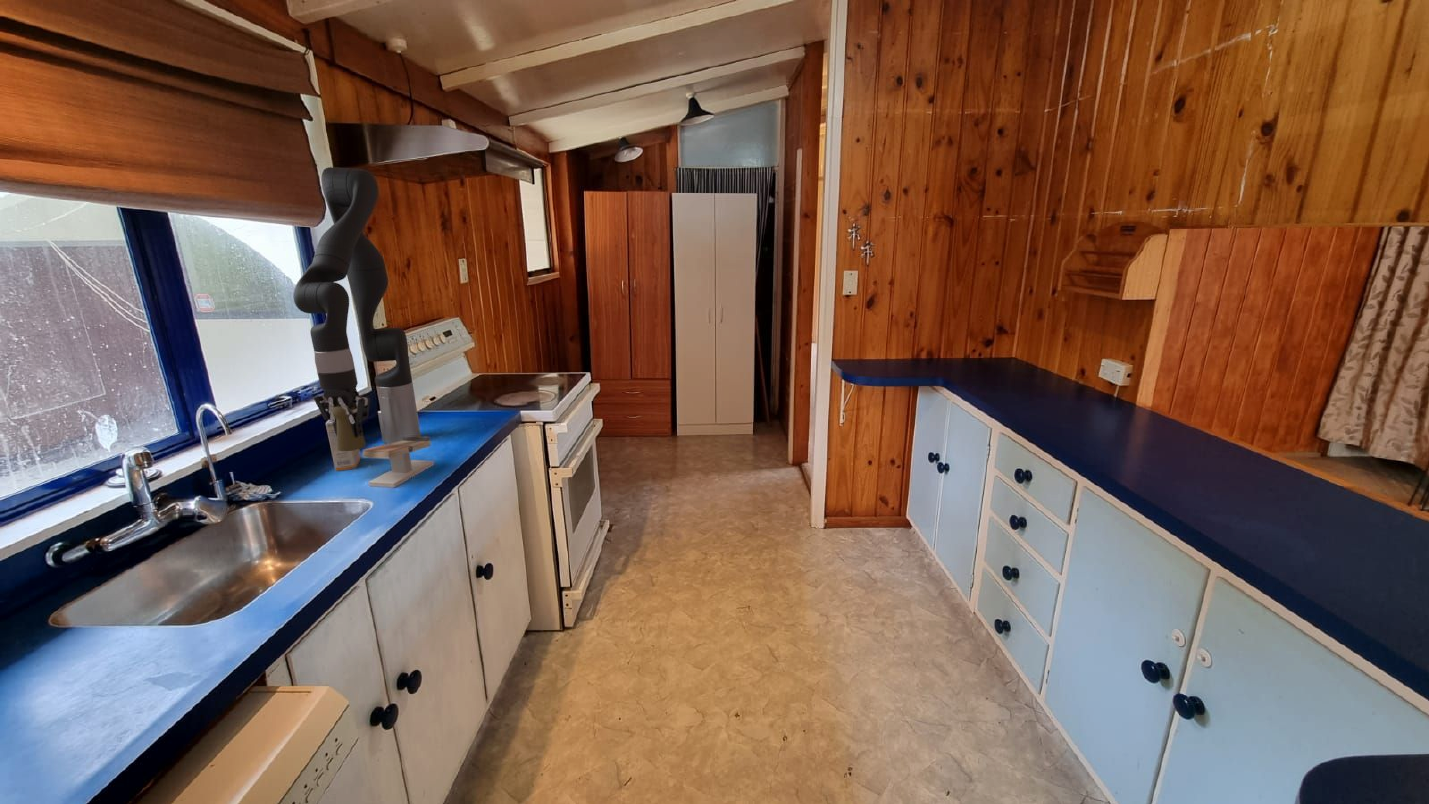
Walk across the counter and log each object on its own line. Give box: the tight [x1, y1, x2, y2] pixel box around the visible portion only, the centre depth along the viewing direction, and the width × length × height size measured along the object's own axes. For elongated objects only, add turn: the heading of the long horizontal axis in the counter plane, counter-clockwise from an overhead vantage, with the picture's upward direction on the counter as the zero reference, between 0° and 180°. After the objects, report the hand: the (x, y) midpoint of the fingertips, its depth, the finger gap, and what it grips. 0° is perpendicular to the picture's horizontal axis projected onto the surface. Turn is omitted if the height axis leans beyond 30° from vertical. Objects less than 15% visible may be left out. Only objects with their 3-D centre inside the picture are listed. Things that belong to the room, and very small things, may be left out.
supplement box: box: [325, 420, 362, 472], centre depth 148 cm, size 8×5×13 cm, turn 22°
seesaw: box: [362, 435, 432, 460], centre depth 140 cm, size 7×15×3 cm, turn 170°
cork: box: [332, 406, 367, 451], centre depth 138 cm, size 6×6×11 cm
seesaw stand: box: [367, 453, 435, 488], centre depth 141 cm, size 7×15×6 cm, turn 170°
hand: (349, 436), depth 139 cm, fingers closed on cork, 4 cm apart
